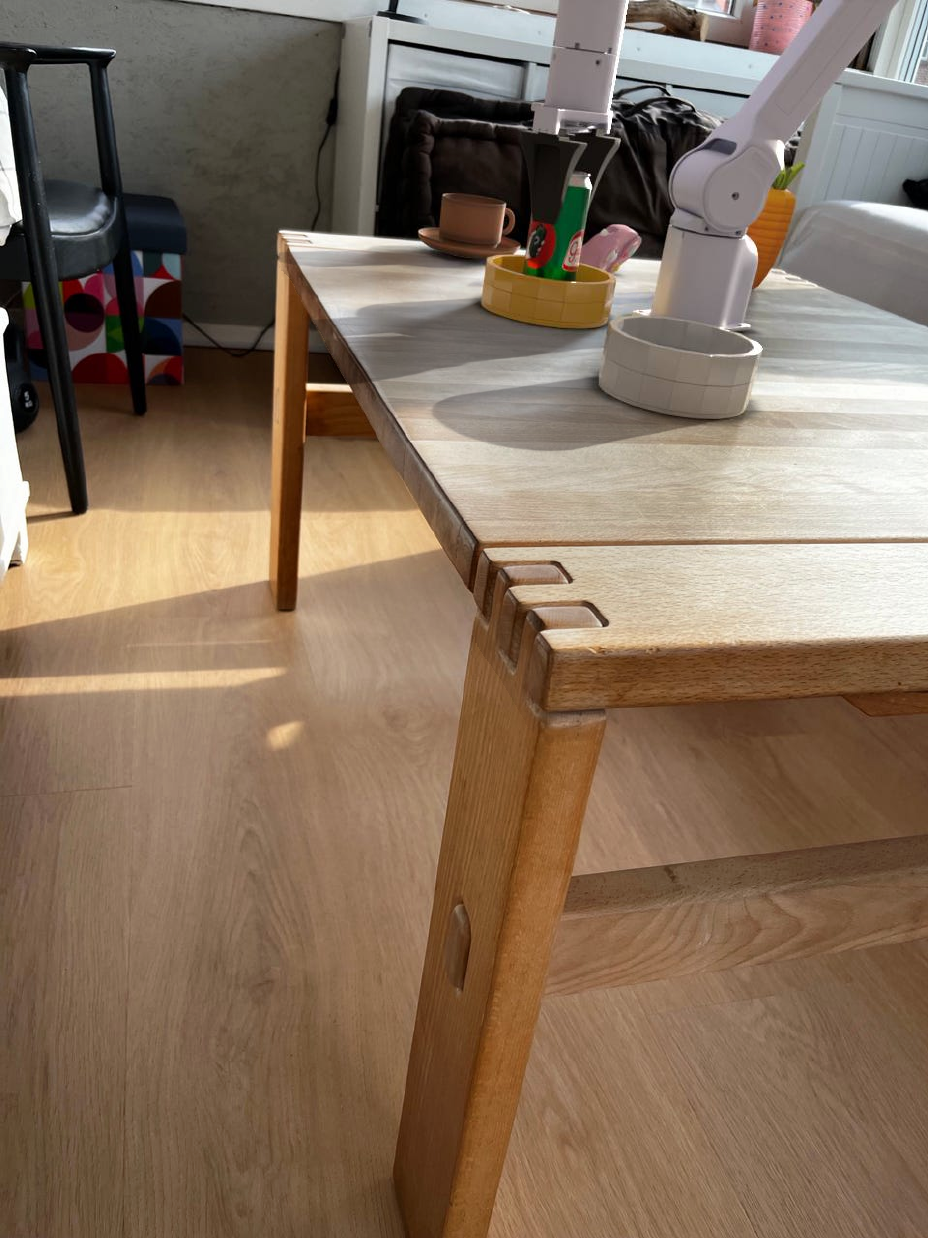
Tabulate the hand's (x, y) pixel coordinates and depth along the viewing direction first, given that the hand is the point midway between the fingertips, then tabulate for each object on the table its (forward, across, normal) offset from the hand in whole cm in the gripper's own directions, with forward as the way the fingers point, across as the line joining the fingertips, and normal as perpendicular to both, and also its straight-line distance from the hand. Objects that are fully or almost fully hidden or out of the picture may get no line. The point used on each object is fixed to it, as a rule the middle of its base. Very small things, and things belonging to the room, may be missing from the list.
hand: (559, 219), depth 94 cm
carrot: (+9, -37, +13) cm, 40 cm away
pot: (+8, +18, +18) cm, 26 cm away
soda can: (+8, 0, 0) cm, 8 cm away
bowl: (+8, 0, 0) cm, 8 cm away
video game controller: (+9, -25, -3) cm, 27 cm away
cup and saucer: (+8, -20, -18) cm, 28 cm away
